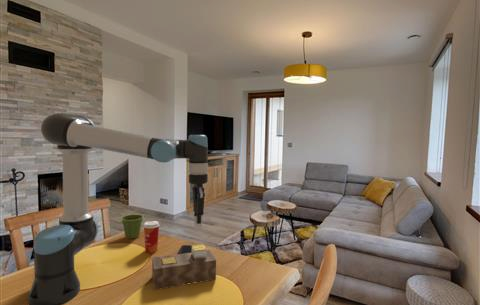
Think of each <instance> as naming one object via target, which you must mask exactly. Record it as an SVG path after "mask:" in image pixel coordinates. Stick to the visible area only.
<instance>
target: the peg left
mask: <svg viewBox="0 0 480 305" xmlns="http://www.w3.org/2000/svg"><path fill="white" fill-rule="evenodd" d="M174 263H176V260H175V257H170V258H163V259H162V265H167V264H174Z"/></svg>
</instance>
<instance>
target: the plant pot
mask: <svg viewBox="0 0 480 305" xmlns="http://www.w3.org/2000/svg"><path fill="white" fill-rule="evenodd" d="M144 217H145V216H144V215H143V214H136V213H135V214H134V213H133V214H126V215H123V216H122V217H120V220H121V221H122V225H123V230H124V237H125V238H126V239H128V240H129V239H137V238H139V237H140V234H141V227H142V223H143V218H144Z"/></svg>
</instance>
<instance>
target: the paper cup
mask: <svg viewBox="0 0 480 305" xmlns="http://www.w3.org/2000/svg"><path fill="white" fill-rule="evenodd" d="M142 227H143V230H144V231H143V233H144V234H143V235H144V250H145V252H146V253H148V254H152V253H156V252H157V251H158V243H159V232H160V230H159V228H160V224H159V221H157V220H148V221H145V222H144V224H143V225H142Z"/></svg>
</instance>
